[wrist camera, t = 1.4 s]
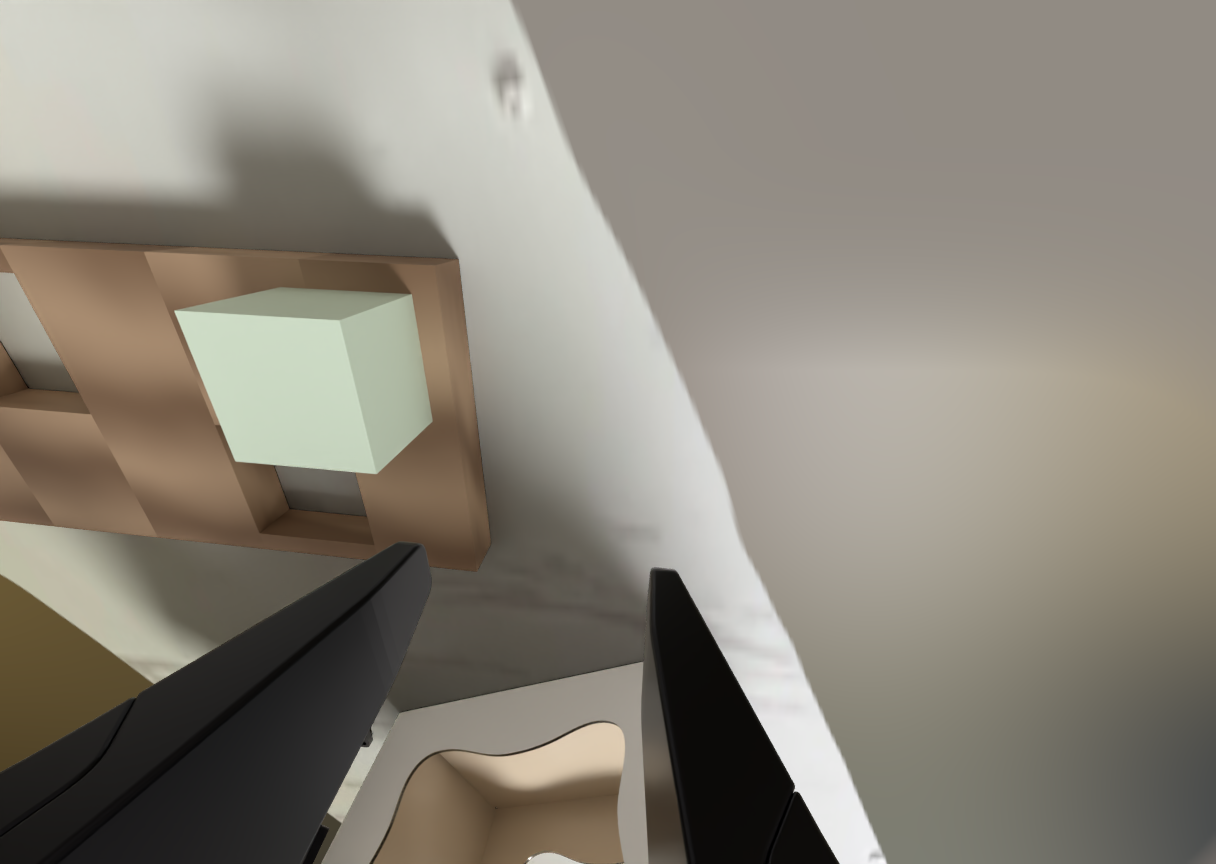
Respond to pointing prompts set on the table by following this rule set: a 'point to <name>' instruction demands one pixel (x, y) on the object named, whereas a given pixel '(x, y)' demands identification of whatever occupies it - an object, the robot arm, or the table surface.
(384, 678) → the robot arm
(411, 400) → the block
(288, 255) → the board
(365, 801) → the gable box
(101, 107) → the table surface
